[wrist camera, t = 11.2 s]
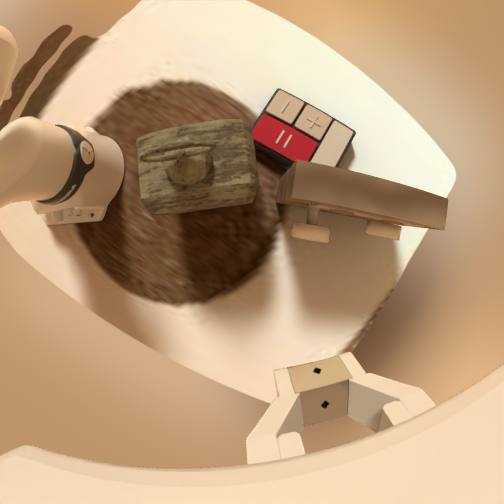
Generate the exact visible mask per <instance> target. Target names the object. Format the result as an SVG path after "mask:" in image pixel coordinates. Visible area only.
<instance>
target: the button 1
mask: <svg viewBox="0 0 504 504" xmlns="http://www.w3.org/2000/svg"><path fill="white" fill-rule="evenodd" d="M318 215H319V208H316V207H311V206H309V212H308V219H307V224H306V223H300V222H294V221H293V224H292V231H291V237H295V238H299V239H304V240H310V241H316V242H324V243H328V241H329V235H330V228H329V227H324V226H318V225H317V221H318Z"/></svg>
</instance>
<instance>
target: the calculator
mask: <svg viewBox="0 0 504 504" xmlns="http://www.w3.org/2000/svg"><path fill="white" fill-rule="evenodd" d="M252 132H253V139H254V146H255V148H256V149H258V150H260V151H261V152H263V153H265V154H267V155H269V156H271V157H272V158H274V159H276V160H278V161H279V162H281V163H283V164H285V165H287V166H288V167H291V166H292V165H293V163H294V162H295V161H296V160H303V161H308V162H313V163H318V164H323V165H328V166H332V167H338V166H339V164H340V162H341V160H342V158H343V156H344V155H345V153H346V151H347V149H348V147H349V145H350V144H351V142H352V140H353V138H354V136H355V134H356V132H355V131H354V130H352V129H351V128H349V127H348V126H346V125H345V124H343V123H341V122H340V121H338V120H336V119H335V118H333V117H331V116H330V115H328V114H326V113H325V112H323V111H321V110H319V109H318V108H316V107H314V106H312V105H310V104H309V103H307V102H305V101H303V100H301V99H299V98H297V97H295V96H294V95H292V94H290V93H288V92H286V91H284V90H282V89H277V90H276V91H275V93H274V94H273V96H272V97H271V99H270V100H269V102H268V103H267V105H266V106H265V108H264V109H263V111H262V113H261V114H260V116H259V117H258V119H257V120H256V122H255V123H254V125H253V127H252Z"/></svg>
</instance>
